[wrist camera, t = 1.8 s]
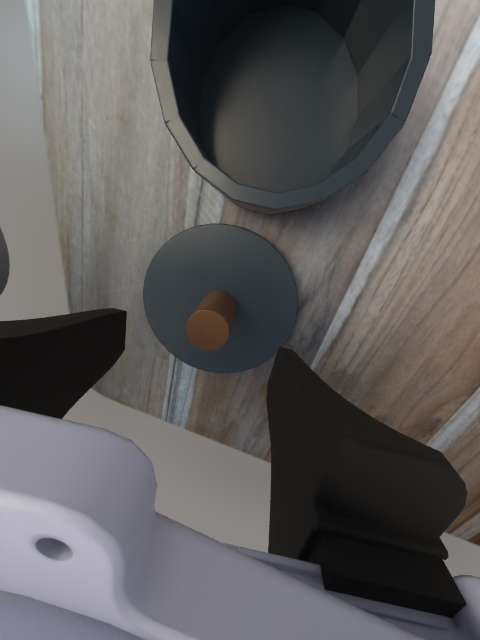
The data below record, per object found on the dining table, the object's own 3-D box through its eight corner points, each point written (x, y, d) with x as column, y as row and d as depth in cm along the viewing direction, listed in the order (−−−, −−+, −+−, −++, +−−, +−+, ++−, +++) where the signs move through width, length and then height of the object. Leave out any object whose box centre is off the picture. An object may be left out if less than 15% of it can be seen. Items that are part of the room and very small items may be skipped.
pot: (179, 193, 16) (142, 178, 11) (204, -29, 12) (166, -210, 7) (331, 229, 16) (364, 231, 11) (401, 20, 12) (500, -124, 7)
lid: (144, 348, 20) (106, 389, 15) (156, 206, 16) (111, 198, 11) (273, 378, 20) (277, 428, 15) (316, 244, 16) (340, 253, 11)
